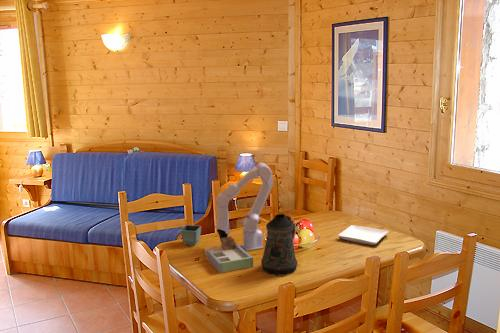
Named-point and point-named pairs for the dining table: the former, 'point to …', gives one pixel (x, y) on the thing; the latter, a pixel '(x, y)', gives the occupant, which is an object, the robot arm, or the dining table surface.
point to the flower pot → (190, 234)
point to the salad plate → (362, 234)
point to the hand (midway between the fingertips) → (223, 243)
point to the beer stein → (279, 247)
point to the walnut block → (227, 243)
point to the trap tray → (229, 258)
